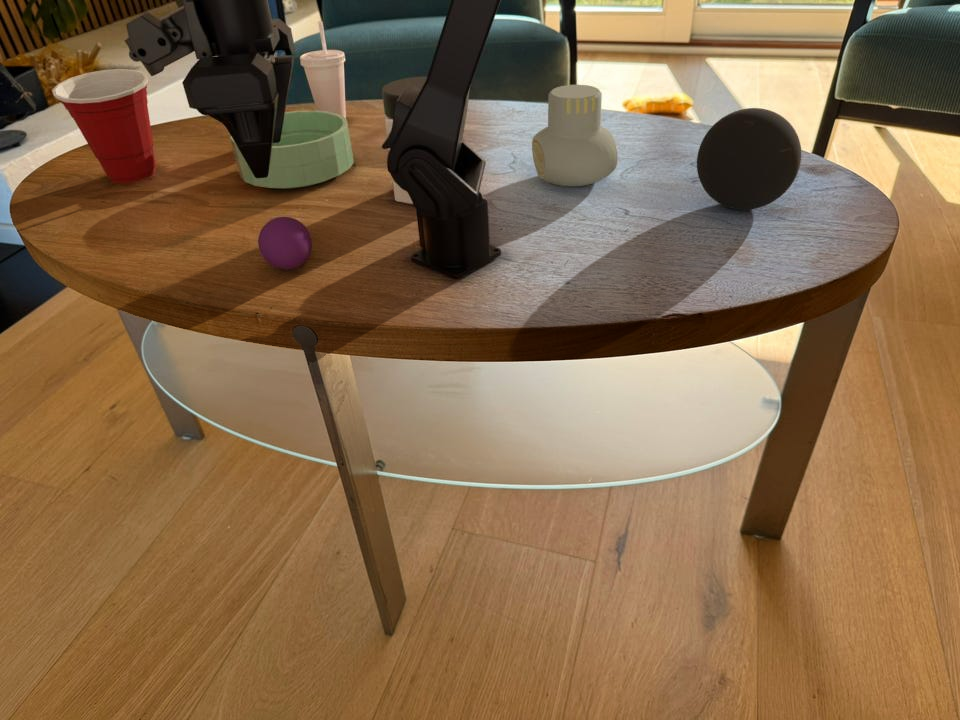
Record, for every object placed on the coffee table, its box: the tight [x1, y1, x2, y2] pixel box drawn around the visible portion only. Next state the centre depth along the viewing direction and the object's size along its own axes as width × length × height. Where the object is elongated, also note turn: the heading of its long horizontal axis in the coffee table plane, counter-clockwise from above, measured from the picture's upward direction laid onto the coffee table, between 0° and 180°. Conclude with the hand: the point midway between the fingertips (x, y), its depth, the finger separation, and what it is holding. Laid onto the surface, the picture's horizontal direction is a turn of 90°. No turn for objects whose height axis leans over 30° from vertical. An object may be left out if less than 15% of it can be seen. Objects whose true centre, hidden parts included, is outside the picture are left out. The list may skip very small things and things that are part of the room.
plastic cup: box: [51, 68, 157, 184], centre depth 89 cm, size 11×11×12 cm
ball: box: [257, 216, 313, 270], centre depth 68 cm, size 5×5×5 cm
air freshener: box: [531, 84, 619, 188], centre depth 81 cm, size 11×8×10 cm
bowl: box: [229, 110, 355, 189], centre depth 89 cm, size 14×14×6 cm
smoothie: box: [299, 20, 347, 119], centre depth 102 cm, size 6×6×14 cm
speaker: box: [696, 107, 802, 211], centre depth 73 cm, size 10×10×10 cm
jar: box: [381, 75, 428, 205], centre depth 79 cm, size 9×8×12 cm
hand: (268, 158), depth 65 cm, fingers open, 9 cm apart
